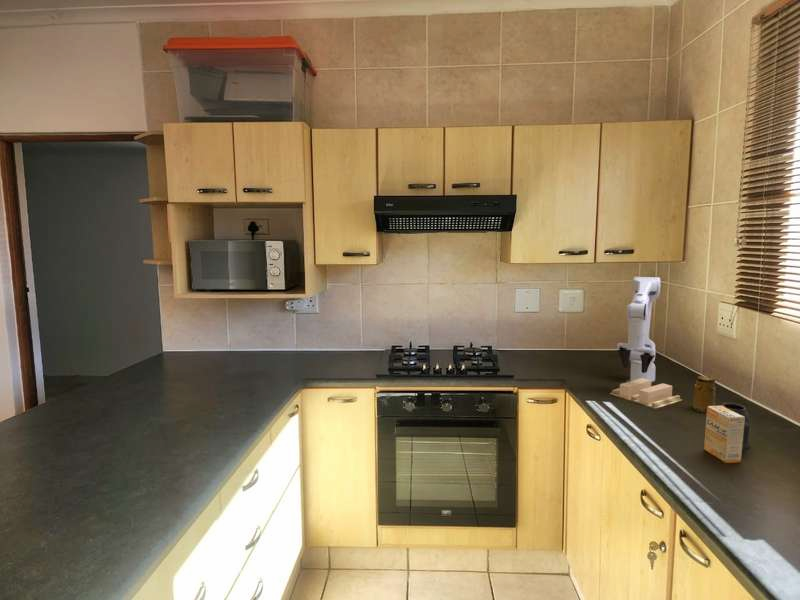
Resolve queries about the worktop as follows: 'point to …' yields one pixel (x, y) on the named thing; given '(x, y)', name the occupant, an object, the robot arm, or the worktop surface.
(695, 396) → the condiment
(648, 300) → the robot arm
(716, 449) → the supplement box
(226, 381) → the worktop surface
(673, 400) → the rack
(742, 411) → the mug
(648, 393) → the clay bar
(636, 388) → the clay bar
